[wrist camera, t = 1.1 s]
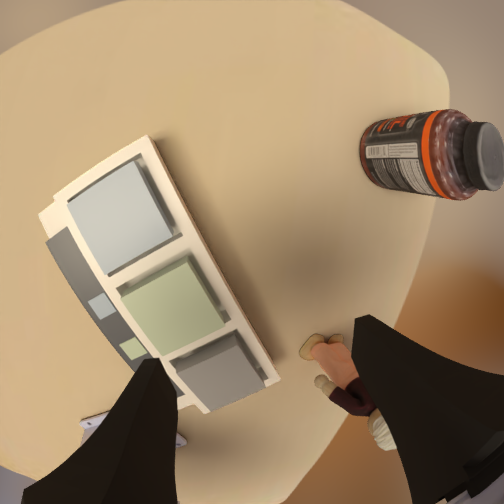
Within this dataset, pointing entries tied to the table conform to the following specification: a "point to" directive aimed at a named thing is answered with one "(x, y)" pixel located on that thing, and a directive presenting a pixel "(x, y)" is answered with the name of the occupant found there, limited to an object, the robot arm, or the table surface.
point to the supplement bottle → (434, 154)
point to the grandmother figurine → (346, 384)
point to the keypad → (146, 271)
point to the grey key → (220, 374)
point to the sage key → (173, 307)
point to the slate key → (120, 217)
